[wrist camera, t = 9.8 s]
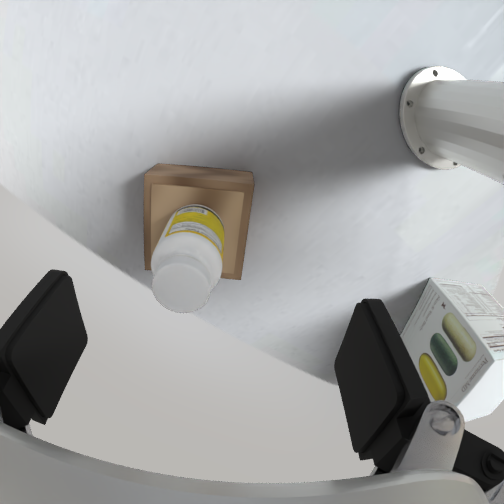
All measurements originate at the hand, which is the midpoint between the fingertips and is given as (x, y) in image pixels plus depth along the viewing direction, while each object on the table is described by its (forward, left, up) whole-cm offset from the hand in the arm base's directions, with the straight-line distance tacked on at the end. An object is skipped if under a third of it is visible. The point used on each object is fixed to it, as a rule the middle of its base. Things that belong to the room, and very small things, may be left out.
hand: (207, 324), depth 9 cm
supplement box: (-35, +18, -25) cm, 47 cm away
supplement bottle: (+2, +5, -19) cm, 20 cm away
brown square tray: (+3, +6, -24) cm, 25 cm away
